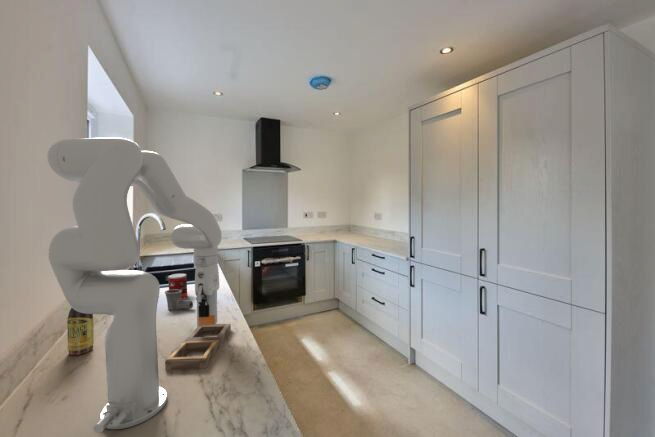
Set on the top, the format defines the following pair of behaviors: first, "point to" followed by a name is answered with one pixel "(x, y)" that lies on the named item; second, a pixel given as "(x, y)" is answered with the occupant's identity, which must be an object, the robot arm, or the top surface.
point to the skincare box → (212, 312)
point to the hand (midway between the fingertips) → (207, 312)
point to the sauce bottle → (80, 332)
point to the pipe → (177, 300)
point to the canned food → (178, 283)
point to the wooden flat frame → (198, 348)
